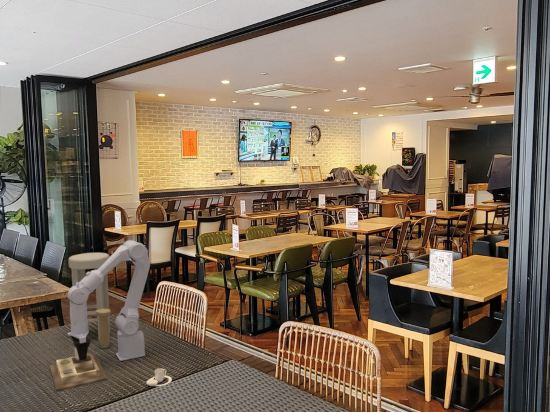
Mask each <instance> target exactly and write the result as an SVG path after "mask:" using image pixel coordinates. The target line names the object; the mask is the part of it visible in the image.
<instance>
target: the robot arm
mask: <svg viewBox="0 0 550 412" xmlns="http://www.w3.org/2000/svg"><path fill="white" fill-rule="evenodd" d="M148 253H149V250H148V248H147V247H146V246H145V245H144V244H143V243H141V242H137V241H135V240H133V239H128V240H126V241H124V242H123V244H120V245H119V246H118V248H117V249H116V250H115V251H114V252H113V253H112V255H109V258H108V259H107V260H106V262H105V263H104V264H103V265H102V266H101V267H100V268H99V269H98V270H95V269H93V270H92V269H91V270H90V271H87V272H85V275H86V276H85V277H84V278H83V279H82V280H81V281H80V282H79V283H78V282H77V283H76V285H77V286H73V285H72V286H71V287H70V288H69V289H68V292H67V293H66V296H67V298H68V300H69V319H70V332H69V331H68V332H67V336H69V337H70V338H71V340H72V343H73V345H74V348H75V347H76V349H77V352H78V357H79V360H85V359H86V357H87V354H88V350H89V346H90V345H91V342H92V340H91V339H87V336H88V335H89V332H90V330H88V328H89V322H88V319H89V317H88V318H87V311H88V309H87V306H86V301H87V302H88V299H89V296H90V294H91V293H93V292H94V291H96V288H97V287H98V286H99V285H100V284H101V283H102V282H103V280H104V276H105V275H106V274H107V275H108V273H109V272H110V271H112V270H113V269H114V268H115V267H117V266H118V265H119V264H120V263H122V262H127V261H128V262H129V261H131V262H132V264H133V265H134V270H133V274H132V278H131V282H130V285H129V289H128V291H127V295H126V299H125V303H124V306H123V307H122V308H121V309H120V312H119V314H118V315H117V316H116V318H115V321H114V322H115V323H114V324H115V326H116V327H117V329H118V330H117V333H116V334H117V350H118V352H115V355H116V357H117V358H118V361H120V362H122V361H126V360H131V359H132V360H133V359H137V358H140V357H141V358H142V357H145V356H146V351H145V349H146V347H145V337H144V336H145V335H144V332H143V331H142V330H139V327H140V325H139V319H140V314H139V313H140V312H139V308H140V305H141V299H142V297H143V293H144V290H145V285H146V282H147V279H148V274H149V271H150V267H151V262H150V257H149V254H148Z"/></svg>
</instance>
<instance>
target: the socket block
mask: <svg viewBox="0 0 550 412" xmlns="http://www.w3.org/2000/svg"><path fill="white" fill-rule="evenodd" d="M49 369H50V371H51V372H50V373H51V376H52V379H53V384H54V388H55V391H56V392H58V391H59V392H60V391H63V390H68V389H72V388H77V387H80V386H86V385H90V384H93V383H94V384H95V383H98V382H103V381H107V380H108V376H107V375H106V373H105V371H104V368H103V367H102V365H101V362H100V361H99V359H98V358H97V355H94V356H93V354H92V353H91V352H89V353H87V361H86V362H81V363H76V364H75V356H71V357H66V358H62V359H61V358H60V359H56V362H55V364H49Z"/></svg>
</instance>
